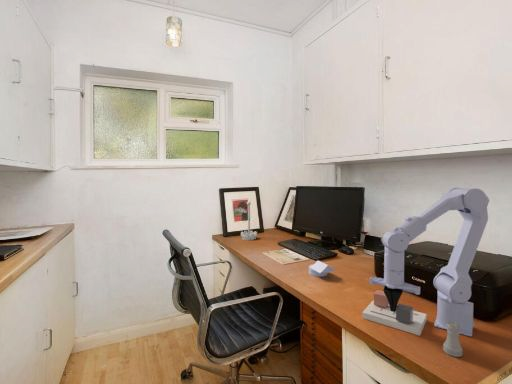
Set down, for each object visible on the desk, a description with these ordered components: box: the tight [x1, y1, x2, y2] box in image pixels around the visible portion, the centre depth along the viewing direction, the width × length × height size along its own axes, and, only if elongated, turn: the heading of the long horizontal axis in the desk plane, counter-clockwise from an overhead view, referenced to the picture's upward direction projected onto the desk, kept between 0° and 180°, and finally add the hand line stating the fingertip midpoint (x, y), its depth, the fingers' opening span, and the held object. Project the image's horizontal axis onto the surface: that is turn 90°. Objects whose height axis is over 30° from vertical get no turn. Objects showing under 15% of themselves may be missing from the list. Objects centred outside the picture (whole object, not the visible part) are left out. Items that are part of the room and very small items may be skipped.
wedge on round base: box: [308, 260, 336, 277], centre depth 136 cm, size 9×7×13 cm
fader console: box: [361, 299, 428, 336], centre depth 92 cm, size 17×12×2 cm
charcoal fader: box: [396, 302, 414, 324], centre depth 87 cm, size 4×4×4 cm
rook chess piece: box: [442, 321, 464, 358], centre depth 74 cm, size 4×4×8 cm
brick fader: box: [373, 289, 389, 308], centre depth 98 cm, size 4×4×4 cm
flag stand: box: [240, 201, 258, 241], centre depth 220 cm, size 13×13×30 cm
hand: (393, 310), depth 89 cm, fingers closed
